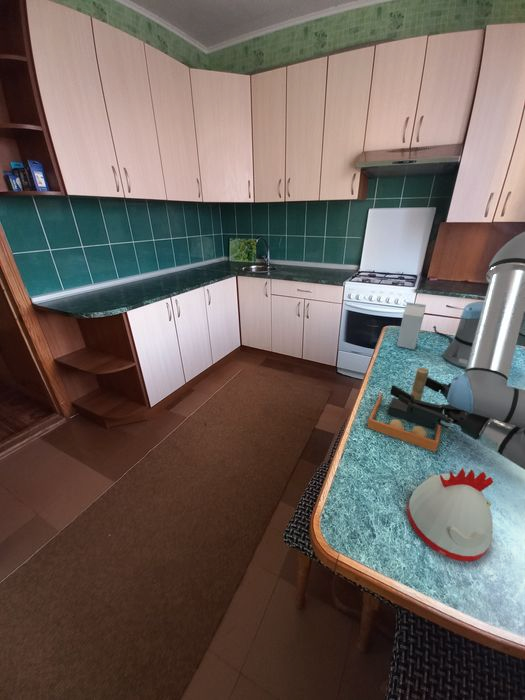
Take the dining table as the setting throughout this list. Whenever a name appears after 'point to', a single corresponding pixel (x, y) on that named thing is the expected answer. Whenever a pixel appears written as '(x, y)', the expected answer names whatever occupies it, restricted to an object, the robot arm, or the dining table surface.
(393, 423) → the crumb
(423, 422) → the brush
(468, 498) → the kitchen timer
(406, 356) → the dining table surface
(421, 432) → the crumb
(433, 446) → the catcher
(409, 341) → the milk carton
